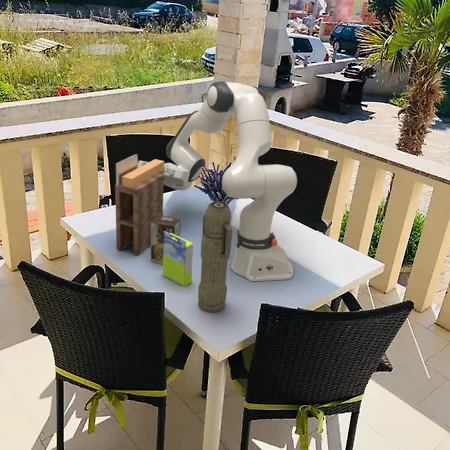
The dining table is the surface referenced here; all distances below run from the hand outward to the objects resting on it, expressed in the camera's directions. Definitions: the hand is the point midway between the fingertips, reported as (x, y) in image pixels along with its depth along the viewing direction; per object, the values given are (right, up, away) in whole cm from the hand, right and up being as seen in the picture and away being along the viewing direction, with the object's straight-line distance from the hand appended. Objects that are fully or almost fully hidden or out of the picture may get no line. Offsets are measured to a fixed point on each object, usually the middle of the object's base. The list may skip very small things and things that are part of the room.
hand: (153, 166), depth 193 cm
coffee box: (+5, -35, -5) cm, 36 cm away
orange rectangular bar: (-3, -4, -4) cm, 7 cm away
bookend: (-8, -6, -8) cm, 13 cm away
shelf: (-6, -29, +5) cm, 30 cm away
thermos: (+22, -47, -28) cm, 59 cm away
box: (+10, -40, -16) cm, 45 cm away
